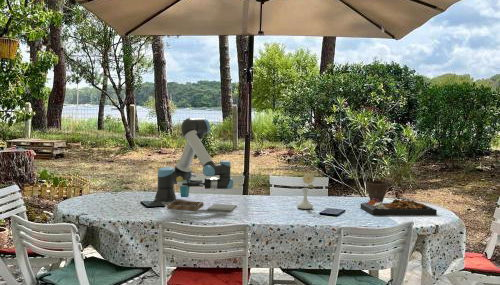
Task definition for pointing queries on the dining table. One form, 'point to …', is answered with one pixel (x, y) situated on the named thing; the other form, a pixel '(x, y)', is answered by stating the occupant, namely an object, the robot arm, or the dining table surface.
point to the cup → (184, 189)
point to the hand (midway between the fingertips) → (177, 183)
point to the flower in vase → (305, 203)
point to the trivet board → (222, 207)
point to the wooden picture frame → (183, 203)
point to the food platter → (396, 208)
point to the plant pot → (377, 189)
